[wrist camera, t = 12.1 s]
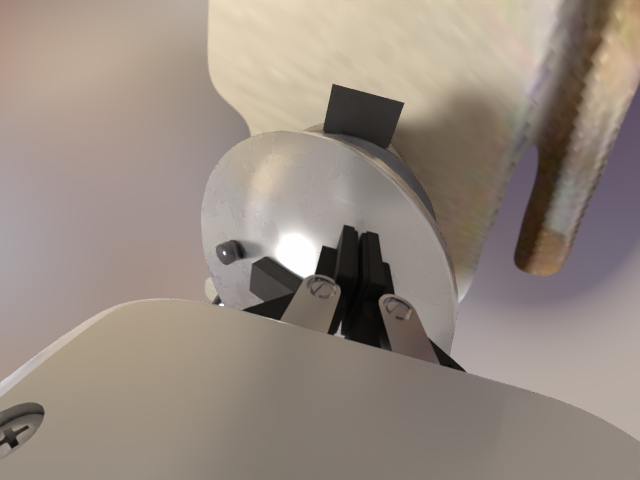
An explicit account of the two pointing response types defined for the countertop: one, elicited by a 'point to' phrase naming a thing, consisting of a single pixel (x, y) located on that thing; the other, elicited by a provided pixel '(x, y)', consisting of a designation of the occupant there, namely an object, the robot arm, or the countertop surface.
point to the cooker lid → (319, 224)
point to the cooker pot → (369, 129)
